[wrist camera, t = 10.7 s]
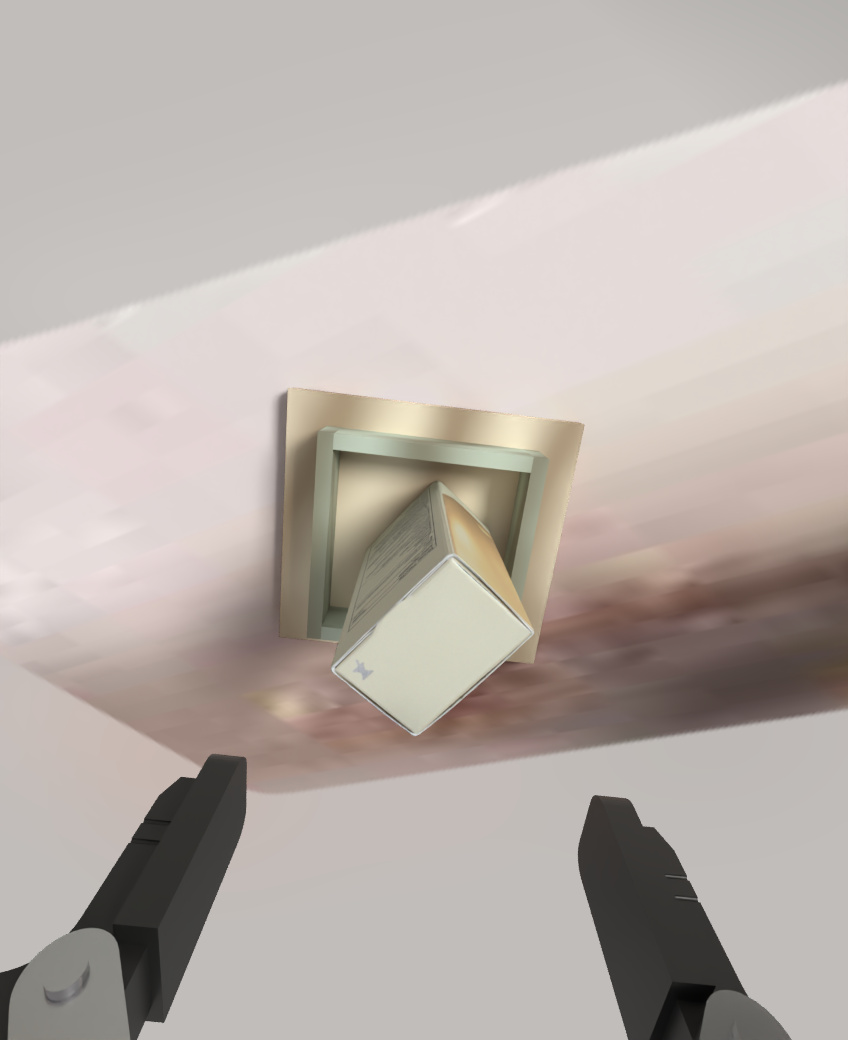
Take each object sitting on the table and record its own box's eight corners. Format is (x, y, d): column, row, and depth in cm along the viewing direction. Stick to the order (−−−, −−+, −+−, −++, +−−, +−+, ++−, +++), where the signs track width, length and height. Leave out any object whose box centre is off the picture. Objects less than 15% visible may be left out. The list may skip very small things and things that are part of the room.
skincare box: (416, 597, 30) (410, 748, 18) (362, 550, 29) (320, 676, 17) (494, 524, 28) (542, 636, 16) (440, 473, 27) (451, 552, 16)
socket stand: (579, 422, 27) (600, 430, 24) (530, 654, 32) (542, 688, 29) (292, 387, 27) (273, 390, 24) (283, 628, 31) (266, 659, 28)
